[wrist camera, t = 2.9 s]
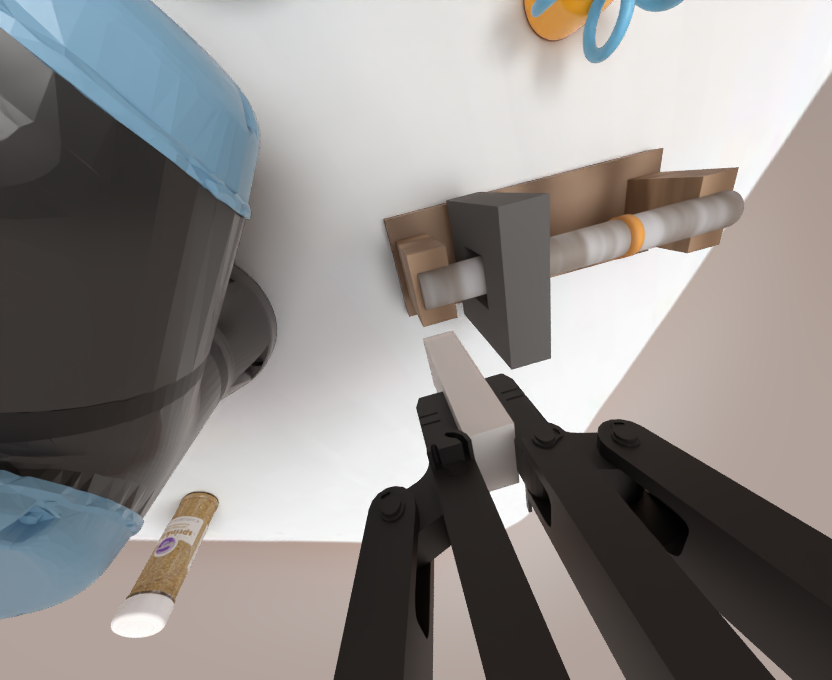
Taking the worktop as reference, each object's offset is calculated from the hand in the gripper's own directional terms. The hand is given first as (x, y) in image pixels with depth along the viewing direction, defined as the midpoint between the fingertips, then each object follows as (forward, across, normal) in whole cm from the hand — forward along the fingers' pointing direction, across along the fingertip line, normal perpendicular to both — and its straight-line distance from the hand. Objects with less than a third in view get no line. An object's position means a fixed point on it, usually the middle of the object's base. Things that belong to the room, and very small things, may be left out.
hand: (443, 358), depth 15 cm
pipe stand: (+19, +14, 0) cm, 23 cm away
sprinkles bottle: (+19, -34, -24) cm, 46 cm away
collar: (+15, +7, 0) cm, 17 cm away
